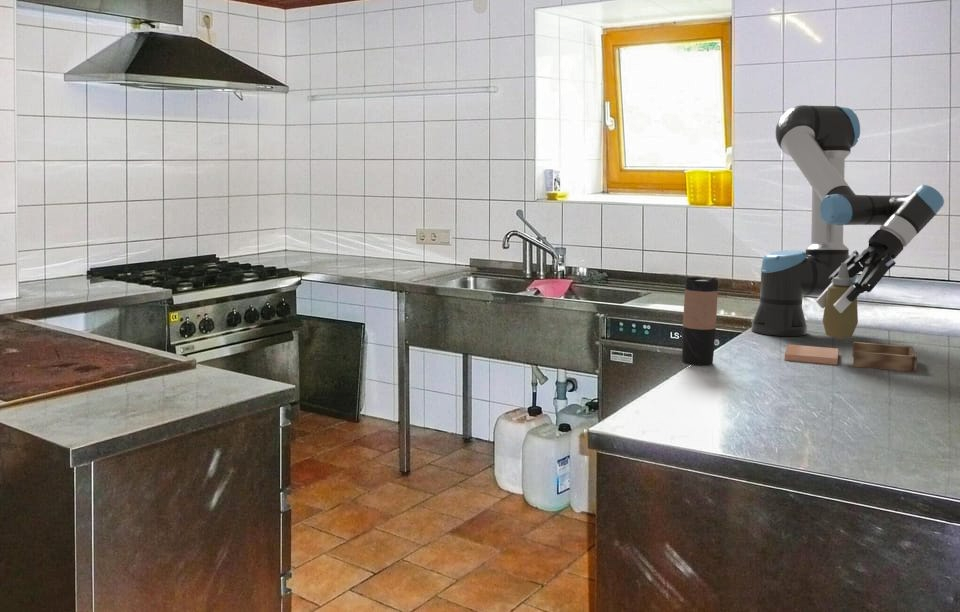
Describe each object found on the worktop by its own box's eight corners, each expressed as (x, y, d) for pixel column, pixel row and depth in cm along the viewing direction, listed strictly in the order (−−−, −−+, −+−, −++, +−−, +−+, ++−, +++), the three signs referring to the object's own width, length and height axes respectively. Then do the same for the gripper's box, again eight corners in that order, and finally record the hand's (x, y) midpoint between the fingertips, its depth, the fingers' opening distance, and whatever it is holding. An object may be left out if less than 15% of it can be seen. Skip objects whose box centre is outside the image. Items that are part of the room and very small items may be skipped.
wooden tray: (853, 366, 213) (854, 351, 212) (852, 355, 226) (853, 341, 226) (916, 371, 208) (917, 357, 207) (911, 360, 221) (912, 346, 221)
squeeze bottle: (827, 332, 225) (832, 260, 222) (861, 336, 220) (866, 262, 217) (816, 336, 219) (821, 263, 216) (851, 340, 214) (856, 265, 211)
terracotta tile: (784, 360, 219) (784, 354, 219) (787, 350, 232) (788, 344, 231) (837, 364, 214) (837, 358, 214) (837, 354, 227) (838, 348, 227)
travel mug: (690, 366, 209) (695, 281, 206) (675, 360, 216) (679, 277, 214) (720, 365, 211) (725, 280, 208) (703, 358, 218) (708, 277, 216)
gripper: (928, 253, 210) (862, 324, 209) (873, 245, 229) (813, 310, 228) (910, 230, 208) (844, 302, 207) (857, 225, 227) (795, 290, 226)
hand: (828, 306), depth 217 cm, fingers closed on squeeze bottle, 6 cm apart
